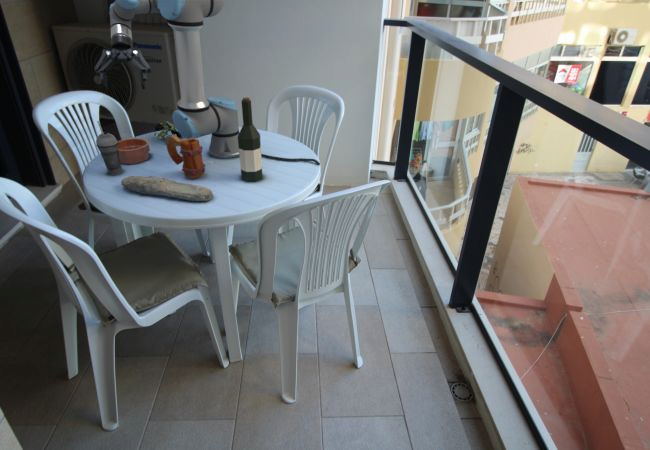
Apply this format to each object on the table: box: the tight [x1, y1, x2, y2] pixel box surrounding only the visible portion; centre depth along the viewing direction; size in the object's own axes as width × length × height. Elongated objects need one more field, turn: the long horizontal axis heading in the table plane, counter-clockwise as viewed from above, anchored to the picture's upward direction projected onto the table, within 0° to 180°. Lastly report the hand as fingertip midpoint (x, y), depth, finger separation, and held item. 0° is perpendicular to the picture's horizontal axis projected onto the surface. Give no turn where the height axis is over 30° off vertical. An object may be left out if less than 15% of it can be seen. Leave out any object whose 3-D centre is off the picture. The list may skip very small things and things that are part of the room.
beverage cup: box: [95, 120, 123, 176], centre depth 146 cm, size 7×7×20 cm
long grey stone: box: [120, 175, 214, 202], centre depth 137 cm, size 35×5×10 cm
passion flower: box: [153, 119, 184, 142], centre depth 179 cm, size 11×11×12 cm
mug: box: [166, 134, 206, 180], centre depth 147 cm, size 15×8×15 cm, turn 71°
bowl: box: [117, 137, 151, 165], centre depth 162 cm, size 14×14×6 cm
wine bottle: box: [238, 97, 263, 183], centre depth 143 cm, size 8×8×30 cm
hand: (124, 87), depth 153 cm, fingers open, 13 cm apart
